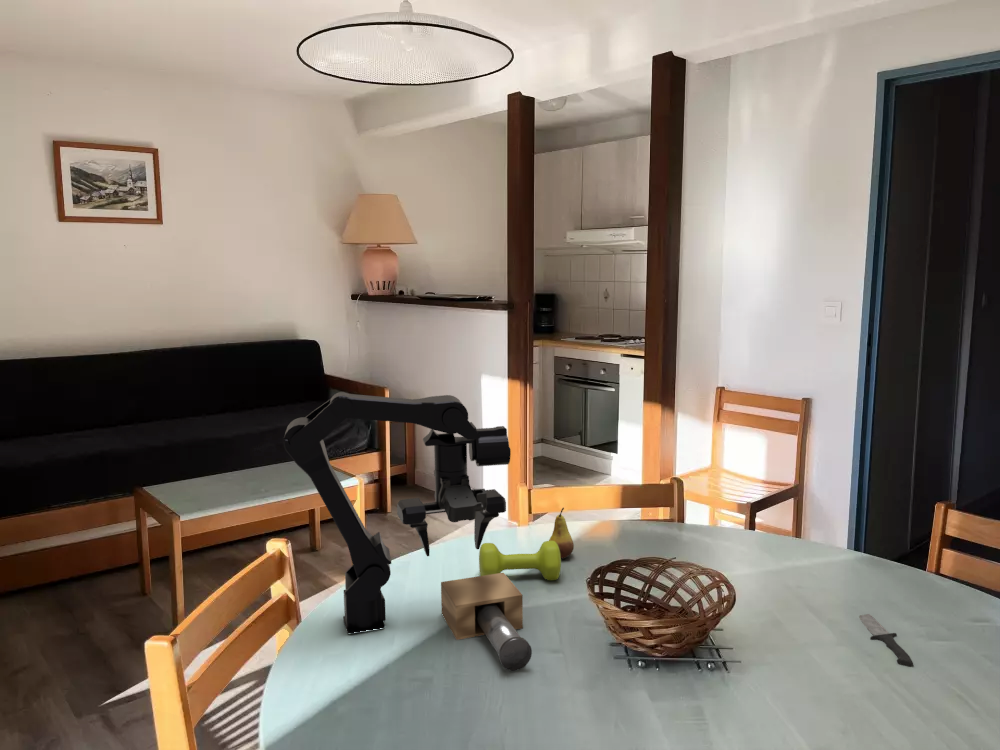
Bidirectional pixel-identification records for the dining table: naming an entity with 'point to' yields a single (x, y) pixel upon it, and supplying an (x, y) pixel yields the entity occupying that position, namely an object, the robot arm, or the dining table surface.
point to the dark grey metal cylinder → (503, 637)
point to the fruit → (562, 536)
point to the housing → (479, 602)
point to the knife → (885, 638)
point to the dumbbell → (521, 560)
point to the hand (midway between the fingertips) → (452, 552)
